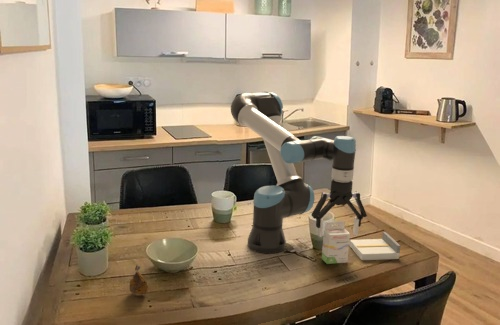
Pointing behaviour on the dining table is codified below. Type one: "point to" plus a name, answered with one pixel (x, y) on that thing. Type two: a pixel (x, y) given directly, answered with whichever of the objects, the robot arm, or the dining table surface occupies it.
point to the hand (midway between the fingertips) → (337, 235)
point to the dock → (376, 248)
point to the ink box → (335, 243)
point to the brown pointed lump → (138, 283)
